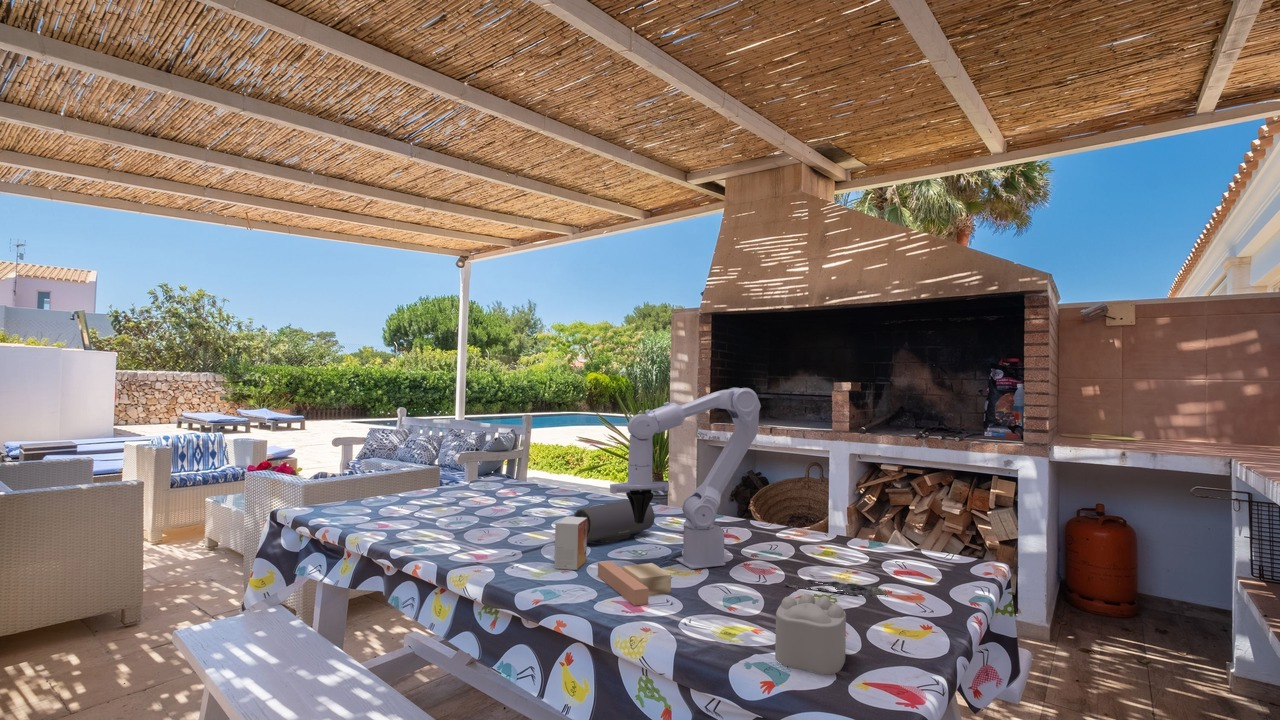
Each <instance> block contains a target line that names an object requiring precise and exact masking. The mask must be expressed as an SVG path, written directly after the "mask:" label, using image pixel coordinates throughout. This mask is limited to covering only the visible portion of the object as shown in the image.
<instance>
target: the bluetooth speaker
mask: <svg viewBox="0 0 1280 720" xmlns="http://www.w3.org/2000/svg"><path fill="white" fill-rule="evenodd" d="M573 517H584V518H588V520H587V542H588V541H597V542H599V541H600V542H599V543H608V542H607V541H610V542H615V541H614V540H616V541H620V540H619V539H621V540H624V539H628V537H629V538H630V537H631V535H632V534H636V533H639V532H643V531H646V530H649V529H650V528H652V526H653V525H654V523H655V512H654V509H653V507H652V504H651V503H650V504H649V506H648V508H647V511H646V514H645V517H644V522H643V523H639V524H638V523H636V522H635V520H634V514H633V510H632V507H631V504H630V502H629V500H625V501H624V500H623V501H614V502H609V503H602V504H601V503H600V504H595V505H592V506H591V505H590V506H586V507H583V508H580V509H577V510H576V511H575V513H574V515H573Z"/></svg>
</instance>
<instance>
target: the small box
mask: <svg viewBox="0 0 1280 720" xmlns="http://www.w3.org/2000/svg"><path fill="white" fill-rule="evenodd" d="M587 520H588V518H584V517H574V516H565V517H563V518H562V519H561V520H559V521H557V522H556V523H555V529H554V530H555V531H554V566H553V569H555V570H557V569H559V570H570V571H578V570H579V569H580V568H581V567H582V565H584V564H585V563H586V562H587V551H588V550H587V549H588V546H587V545H588V541H587Z"/></svg>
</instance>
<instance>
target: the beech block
mask: <svg viewBox="0 0 1280 720" xmlns="http://www.w3.org/2000/svg"><path fill="white" fill-rule="evenodd" d="M622 570H624V571H625V572H627V573H628V574H629V575H631V576H632V577H634V578H635V579H636V580H638V581H639V582H640V583H642V584H643V585H645V586H646V587H647V588H649V591H648V597H651V596H657V595H658V596H659V595H666V594H671V593H672V574H670V573H669V572H668V571H666V570H664V569H662V568H661V567H659V566H658V565H656V564H655V563H653V562H649V563H639V564H630V565H622Z"/></svg>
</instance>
